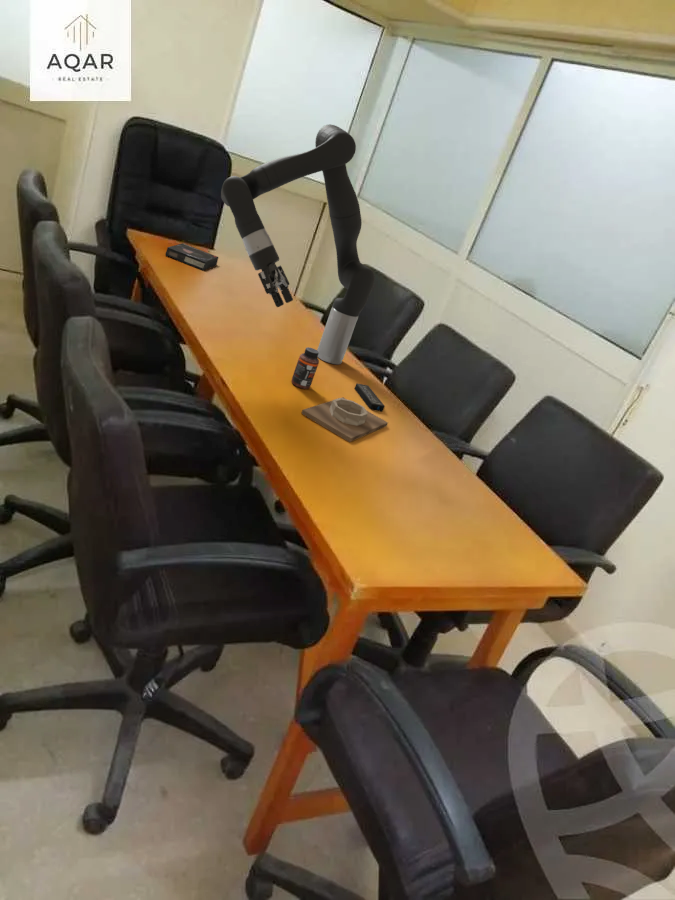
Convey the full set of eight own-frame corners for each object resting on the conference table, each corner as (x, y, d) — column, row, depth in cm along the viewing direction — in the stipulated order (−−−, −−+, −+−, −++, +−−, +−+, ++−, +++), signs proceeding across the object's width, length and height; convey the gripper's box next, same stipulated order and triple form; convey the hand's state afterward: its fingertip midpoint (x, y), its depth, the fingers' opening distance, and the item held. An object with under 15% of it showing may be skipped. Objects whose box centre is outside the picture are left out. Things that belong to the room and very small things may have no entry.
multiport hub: (365, 391, 217) (368, 385, 216) (382, 413, 205) (385, 406, 204) (353, 389, 215) (356, 382, 214) (369, 410, 203) (372, 403, 202)
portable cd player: (164, 257, 277) (166, 247, 276) (180, 252, 293) (182, 243, 291) (202, 271, 277) (204, 262, 275) (216, 266, 293) (218, 257, 291)
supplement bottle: (307, 391, 199) (319, 356, 194) (288, 384, 199) (300, 348, 194) (312, 385, 204) (324, 351, 199) (293, 378, 204) (305, 343, 200)
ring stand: (341, 400, 202) (346, 388, 200) (386, 426, 196) (391, 413, 194) (301, 413, 183) (305, 399, 181) (349, 442, 177) (355, 428, 176)
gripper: (263, 245, 183) (289, 302, 186) (280, 242, 196) (303, 295, 199) (240, 257, 185) (265, 313, 189) (258, 253, 198) (281, 305, 202)
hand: (285, 303), depth 194 cm, fingers open, 8 cm apart
